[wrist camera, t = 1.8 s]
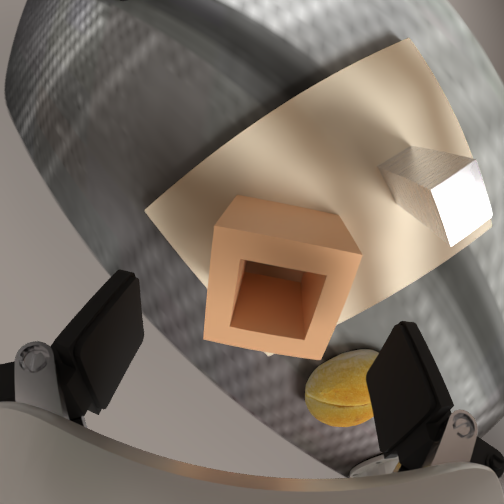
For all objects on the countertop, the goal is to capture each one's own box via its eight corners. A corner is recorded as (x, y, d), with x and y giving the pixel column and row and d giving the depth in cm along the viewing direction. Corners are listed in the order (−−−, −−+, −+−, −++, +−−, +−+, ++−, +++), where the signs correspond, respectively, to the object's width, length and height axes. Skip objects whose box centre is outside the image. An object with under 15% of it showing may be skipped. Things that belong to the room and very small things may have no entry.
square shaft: (396, 204, 15) (450, 246, 9) (377, 166, 14) (430, 190, 8) (428, 183, 14) (492, 215, 8) (410, 145, 13) (476, 159, 7)
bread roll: (403, 342, 20) (417, 375, 17) (374, 402, 24) (380, 432, 20) (311, 344, 21) (314, 381, 18) (299, 405, 25) (298, 437, 21)
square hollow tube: (313, 300, 18) (320, 360, 13) (224, 283, 18) (203, 339, 13) (339, 215, 16) (362, 255, 11) (237, 194, 16) (214, 225, 11)
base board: (269, 347, 22) (268, 356, 21) (150, 206, 18) (144, 210, 17) (485, 221, 15) (492, 226, 14) (403, 41, 11) (409, 37, 10)
